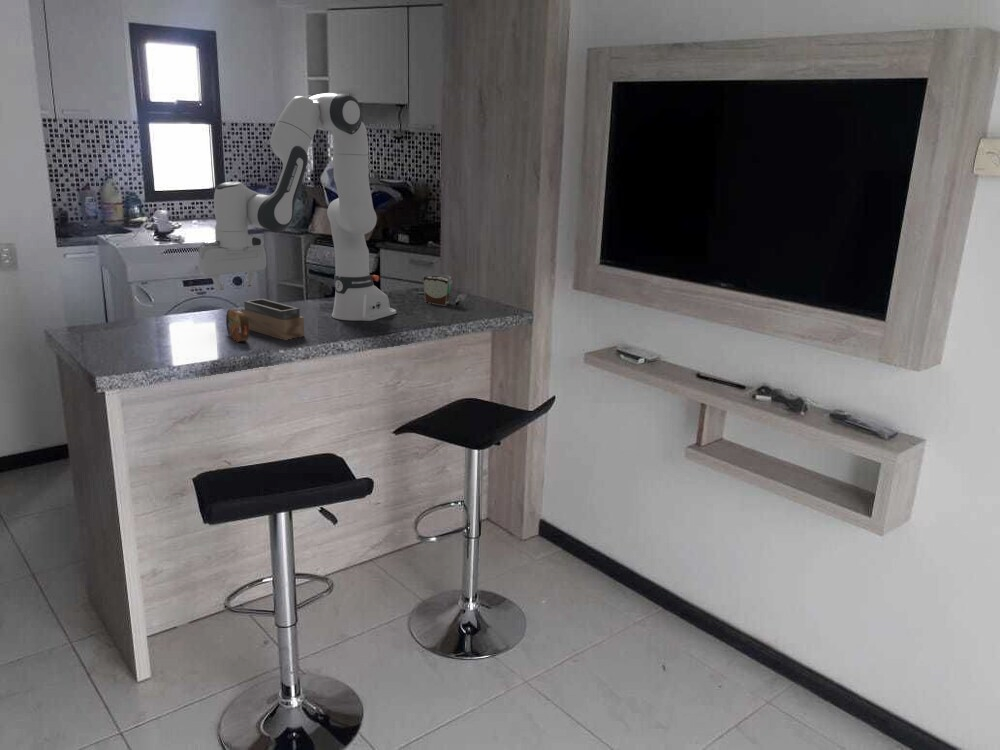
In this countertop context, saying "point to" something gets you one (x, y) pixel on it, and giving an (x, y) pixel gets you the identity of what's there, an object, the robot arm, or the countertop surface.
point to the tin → (237, 325)
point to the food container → (437, 289)
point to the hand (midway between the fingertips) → (234, 287)
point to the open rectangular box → (274, 319)
